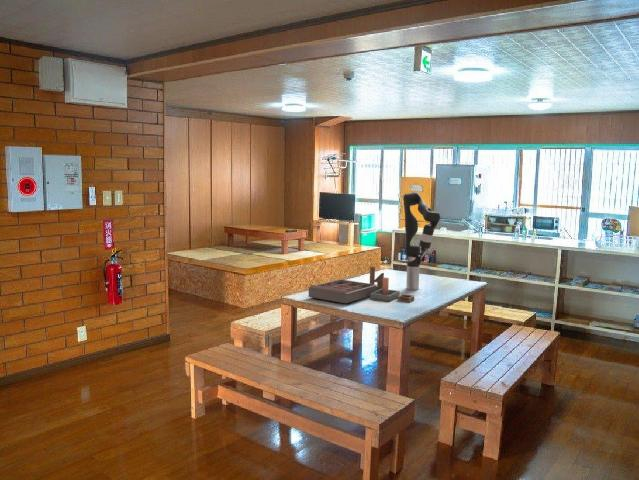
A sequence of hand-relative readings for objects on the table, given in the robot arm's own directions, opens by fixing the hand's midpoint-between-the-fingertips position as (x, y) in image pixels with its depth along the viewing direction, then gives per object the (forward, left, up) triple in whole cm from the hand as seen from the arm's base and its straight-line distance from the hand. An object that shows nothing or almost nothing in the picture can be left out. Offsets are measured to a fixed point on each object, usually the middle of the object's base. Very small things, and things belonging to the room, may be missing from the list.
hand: (420, 262), depth 362 cm
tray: (+8, -22, -25) cm, 34 cm away
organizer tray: (+21, -48, -26) cm, 58 cm away
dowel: (+8, -21, -24) cm, 34 cm away
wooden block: (-10, -36, -26) cm, 45 cm away
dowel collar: (+8, -7, -25) cm, 28 cm away
